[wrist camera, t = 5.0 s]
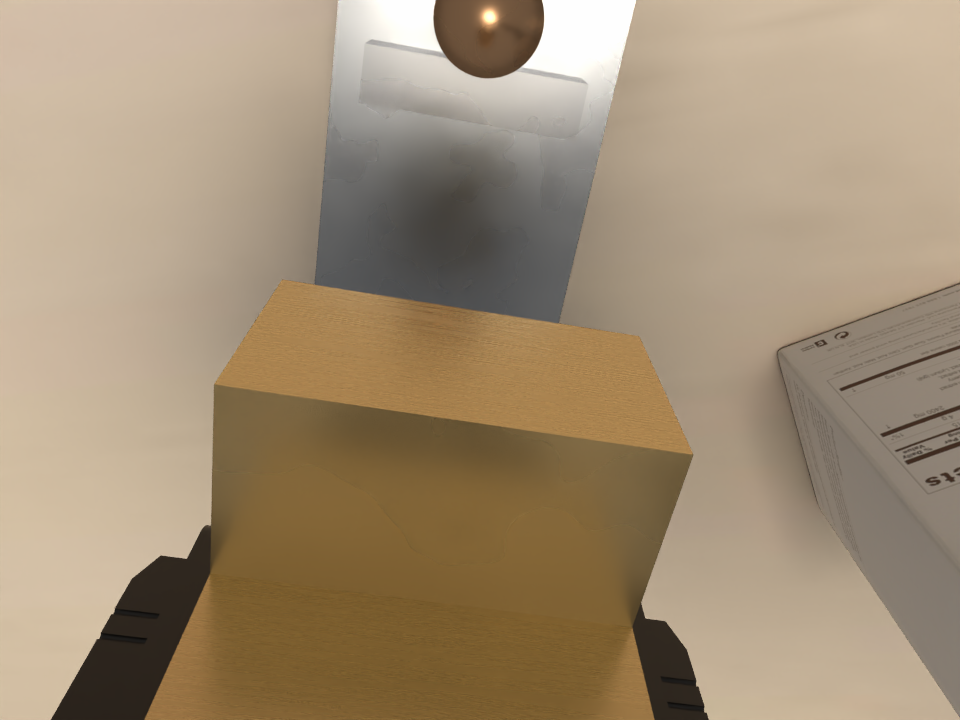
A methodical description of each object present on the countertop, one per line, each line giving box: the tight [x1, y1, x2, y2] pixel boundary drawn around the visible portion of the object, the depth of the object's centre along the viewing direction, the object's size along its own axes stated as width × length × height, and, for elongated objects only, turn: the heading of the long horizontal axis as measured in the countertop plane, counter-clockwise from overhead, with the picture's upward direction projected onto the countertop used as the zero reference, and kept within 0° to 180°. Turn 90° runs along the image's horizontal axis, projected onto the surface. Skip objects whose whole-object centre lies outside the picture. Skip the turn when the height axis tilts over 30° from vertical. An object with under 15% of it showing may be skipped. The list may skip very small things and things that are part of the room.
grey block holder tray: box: [315, 0, 636, 323], centre depth 24 cm, size 8×17×10 cm, turn 170°
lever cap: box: [145, 280, 693, 720], centre depth 10 cm, size 5×9×6 cm, turn 170°
